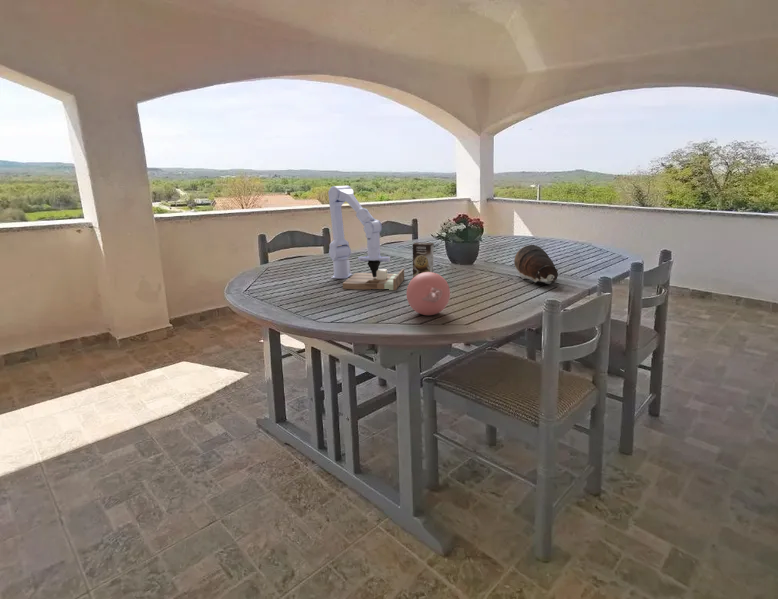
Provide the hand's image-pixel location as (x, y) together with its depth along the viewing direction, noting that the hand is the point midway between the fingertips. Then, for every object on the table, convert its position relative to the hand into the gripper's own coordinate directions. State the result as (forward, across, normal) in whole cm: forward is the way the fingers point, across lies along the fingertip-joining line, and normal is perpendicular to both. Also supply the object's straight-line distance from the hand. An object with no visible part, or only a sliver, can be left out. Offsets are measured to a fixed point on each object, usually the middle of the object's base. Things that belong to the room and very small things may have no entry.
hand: (374, 276), depth 209 cm
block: (+1, +4, 0) cm, 4 cm away
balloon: (+3, +31, -45) cm, 55 cm away
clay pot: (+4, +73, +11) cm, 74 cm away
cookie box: (+3, +20, +18) cm, 27 cm away
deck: (+3, 0, 0) cm, 3 cm away
